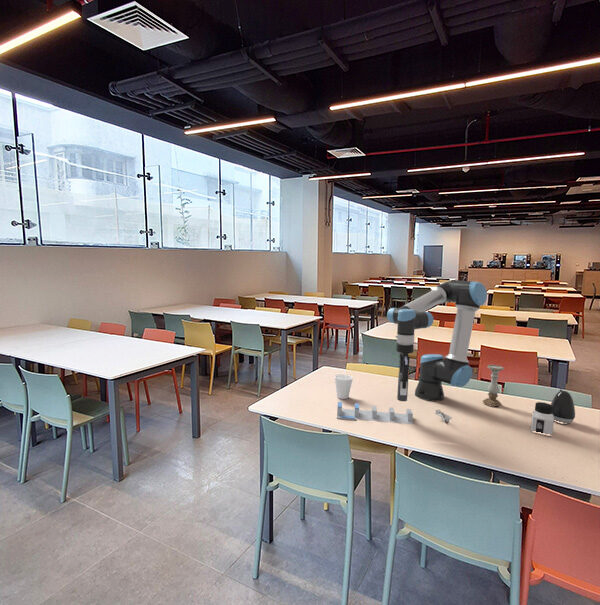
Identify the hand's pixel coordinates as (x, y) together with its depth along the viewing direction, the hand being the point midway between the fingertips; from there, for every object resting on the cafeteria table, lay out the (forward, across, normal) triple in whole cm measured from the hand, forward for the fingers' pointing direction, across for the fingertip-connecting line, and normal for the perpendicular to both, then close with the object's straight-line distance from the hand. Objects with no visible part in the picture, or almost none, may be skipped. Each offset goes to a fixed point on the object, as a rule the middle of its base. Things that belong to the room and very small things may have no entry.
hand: (402, 392), depth 175 cm
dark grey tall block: (+3, 0, 0) cm, 3 cm away
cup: (+13, -22, -28) cm, 38 cm away
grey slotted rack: (+12, +1, -13) cm, 18 cm away
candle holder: (+14, -30, +50) cm, 61 cm away
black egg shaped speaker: (+14, -13, +75) cm, 78 cm away
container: (+14, +1, +60) cm, 62 cm away
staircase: (+14, 0, +19) cm, 23 cm away
